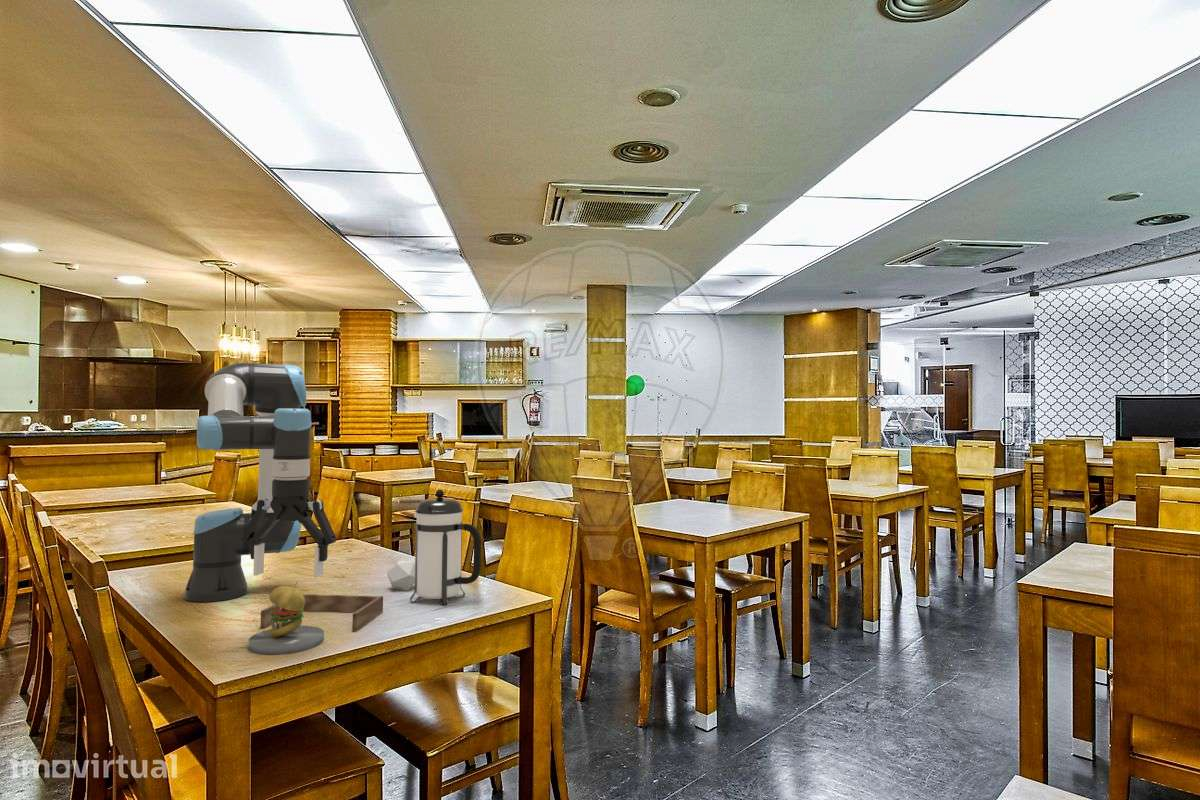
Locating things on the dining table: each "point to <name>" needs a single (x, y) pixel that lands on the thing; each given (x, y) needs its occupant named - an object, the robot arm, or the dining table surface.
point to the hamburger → (286, 610)
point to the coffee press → (441, 549)
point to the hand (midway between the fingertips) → (288, 575)
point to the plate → (286, 641)
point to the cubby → (337, 607)
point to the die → (402, 575)
